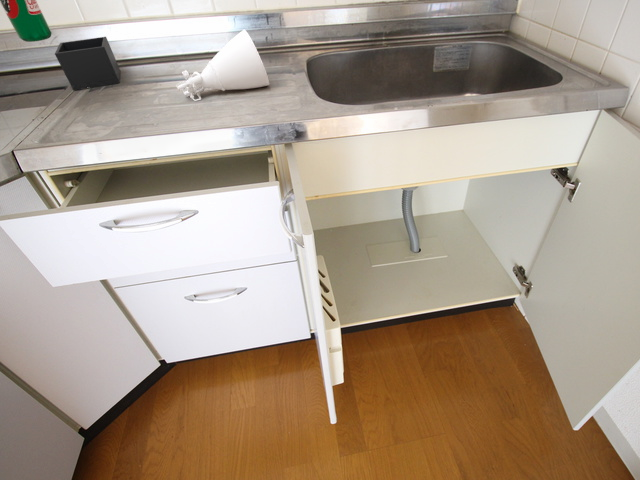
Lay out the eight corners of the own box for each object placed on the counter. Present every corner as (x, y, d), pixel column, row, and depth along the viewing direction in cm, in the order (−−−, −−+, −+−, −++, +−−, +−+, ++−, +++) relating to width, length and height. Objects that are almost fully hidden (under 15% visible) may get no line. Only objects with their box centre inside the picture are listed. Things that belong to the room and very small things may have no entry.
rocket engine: (157, 53, 77) (241, 17, 79) (174, 77, 88) (247, 46, 91) (186, 107, 78) (267, 71, 80) (199, 125, 90) (270, 93, 92)
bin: (73, 90, 92) (54, 53, 87) (77, 77, 99) (60, 42, 94) (119, 83, 95) (104, 46, 89) (120, 71, 102) (106, 36, 96)
